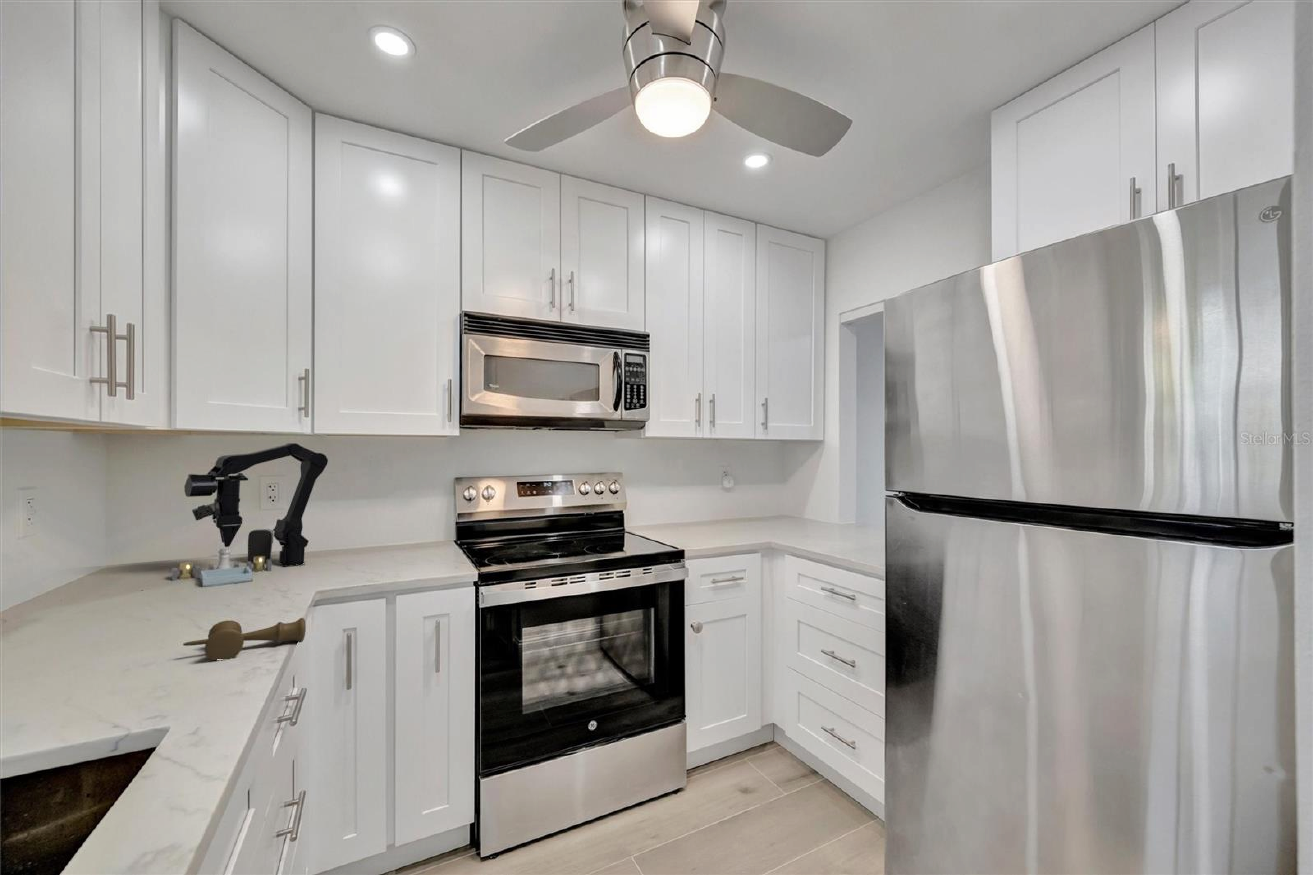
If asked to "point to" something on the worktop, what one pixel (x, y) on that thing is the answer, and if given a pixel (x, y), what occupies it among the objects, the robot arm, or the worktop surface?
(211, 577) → the tray
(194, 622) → the worktop surface
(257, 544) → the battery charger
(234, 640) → the kendama
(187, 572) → the brass peg
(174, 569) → the grey small pieces
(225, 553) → the rook chess piece
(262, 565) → the brass peg
